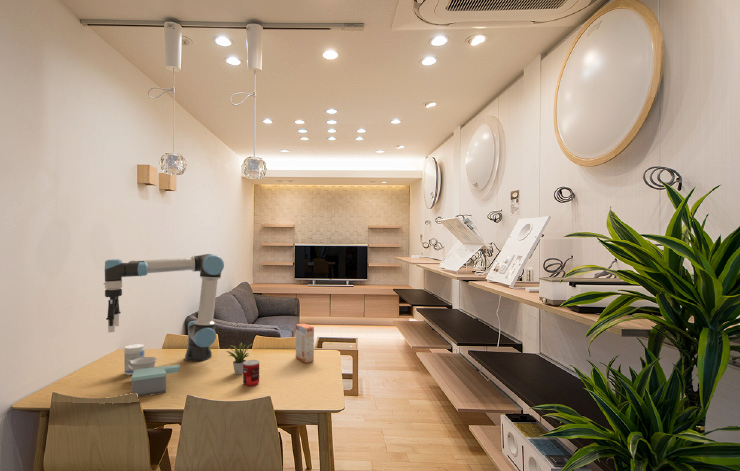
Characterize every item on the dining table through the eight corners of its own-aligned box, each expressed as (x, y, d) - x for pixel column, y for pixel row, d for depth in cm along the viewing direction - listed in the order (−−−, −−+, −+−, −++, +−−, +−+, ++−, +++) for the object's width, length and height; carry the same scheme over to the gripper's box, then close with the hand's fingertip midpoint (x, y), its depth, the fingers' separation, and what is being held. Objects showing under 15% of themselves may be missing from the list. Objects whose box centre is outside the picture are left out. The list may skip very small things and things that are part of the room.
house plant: (247, 365, 226) (247, 337, 226) (259, 371, 216) (259, 342, 216) (223, 371, 216) (223, 342, 216) (234, 378, 206) (234, 347, 206)
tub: (166, 384, 197) (166, 369, 197) (165, 392, 187) (165, 376, 187) (133, 389, 191) (134, 373, 191) (131, 397, 181) (131, 380, 181)
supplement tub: (145, 373, 213) (145, 346, 213) (124, 377, 208) (124, 349, 208) (143, 368, 221) (143, 342, 221) (124, 371, 216) (124, 345, 216)
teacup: (134, 374, 211) (134, 356, 211) (161, 375, 210) (161, 356, 210) (119, 383, 199) (119, 363, 199) (148, 383, 198) (148, 364, 198)
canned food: (245, 380, 202) (245, 359, 202) (260, 380, 203) (260, 359, 203) (241, 386, 195) (241, 364, 195) (257, 386, 195) (257, 364, 195)
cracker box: (314, 361, 233) (314, 327, 233) (305, 363, 230) (305, 328, 230) (304, 355, 245) (304, 322, 245) (295, 357, 241) (295, 323, 241)
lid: (179, 366, 200) (179, 362, 200) (179, 374, 190) (179, 369, 190) (134, 373, 191) (134, 368, 191) (131, 381, 181) (131, 375, 181)
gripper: (109, 286, 214) (109, 324, 214) (100, 292, 191) (100, 335, 191) (125, 285, 217) (125, 323, 217) (117, 291, 194) (118, 333, 195)
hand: (113, 329), depth 204 cm, fingers open, 13 cm apart
